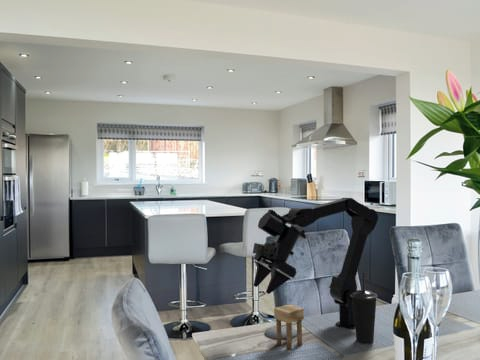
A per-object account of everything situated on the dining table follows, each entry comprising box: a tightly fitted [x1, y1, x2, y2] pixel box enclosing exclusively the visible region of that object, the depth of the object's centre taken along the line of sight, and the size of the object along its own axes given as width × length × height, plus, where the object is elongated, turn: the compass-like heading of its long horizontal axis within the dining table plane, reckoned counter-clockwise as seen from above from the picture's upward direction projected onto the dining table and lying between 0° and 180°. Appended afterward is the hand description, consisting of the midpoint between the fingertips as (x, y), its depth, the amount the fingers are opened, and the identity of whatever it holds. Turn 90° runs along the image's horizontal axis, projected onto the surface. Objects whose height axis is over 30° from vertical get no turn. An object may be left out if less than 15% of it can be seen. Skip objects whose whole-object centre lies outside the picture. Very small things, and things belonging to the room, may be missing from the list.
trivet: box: [264, 325, 297, 340], centre depth 132 cm, size 10×10×1 cm
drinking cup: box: [351, 272, 378, 345], centre depth 124 cm, size 8×8×20 cm
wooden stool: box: [273, 304, 305, 350], centre depth 122 cm, size 6×6×10 cm
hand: (260, 289), depth 127 cm, fingers open, 9 cm apart
